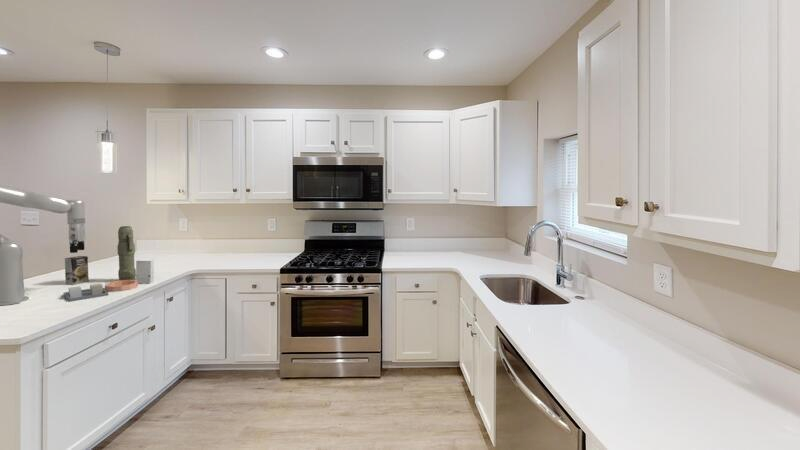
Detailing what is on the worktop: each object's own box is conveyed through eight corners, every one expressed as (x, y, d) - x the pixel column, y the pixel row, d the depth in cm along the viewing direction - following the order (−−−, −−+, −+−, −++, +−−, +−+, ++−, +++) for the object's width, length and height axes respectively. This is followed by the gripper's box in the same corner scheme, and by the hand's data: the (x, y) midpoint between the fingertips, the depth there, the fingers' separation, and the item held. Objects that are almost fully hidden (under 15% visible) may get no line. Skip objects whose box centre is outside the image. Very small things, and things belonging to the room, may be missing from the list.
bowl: (109, 293, 203) (109, 287, 203) (102, 288, 212) (102, 283, 212) (141, 288, 215) (140, 283, 215) (132, 284, 224) (132, 278, 224)
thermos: (126, 283, 226) (124, 227, 223) (114, 280, 230) (111, 226, 227) (140, 280, 234) (139, 226, 231) (128, 278, 238) (126, 225, 235)
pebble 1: (70, 298, 191) (70, 289, 191) (68, 297, 194) (68, 287, 193) (81, 297, 195) (81, 287, 194) (79, 295, 197) (79, 286, 197)
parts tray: (69, 302, 187) (69, 298, 186) (63, 296, 197) (63, 292, 196) (108, 296, 199) (108, 292, 199) (100, 290, 209) (100, 287, 209)
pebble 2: (92, 295, 198) (92, 286, 198) (90, 293, 201) (89, 284, 201) (102, 293, 202) (102, 284, 201) (100, 292, 204) (100, 283, 204)
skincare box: (135, 284, 225) (134, 260, 223) (139, 281, 231) (138, 258, 229) (151, 283, 227) (150, 260, 226) (154, 281, 233) (154, 258, 232)
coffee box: (73, 284, 219) (72, 258, 217) (65, 284, 220) (63, 257, 218) (89, 281, 227) (88, 256, 226) (81, 280, 229) (79, 255, 227)
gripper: (78, 222, 198) (79, 253, 199) (90, 220, 214) (91, 248, 215) (60, 222, 195) (62, 254, 196) (74, 220, 211) (75, 249, 212)
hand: (77, 251), depth 206 cm, fingers open, 9 cm apart
